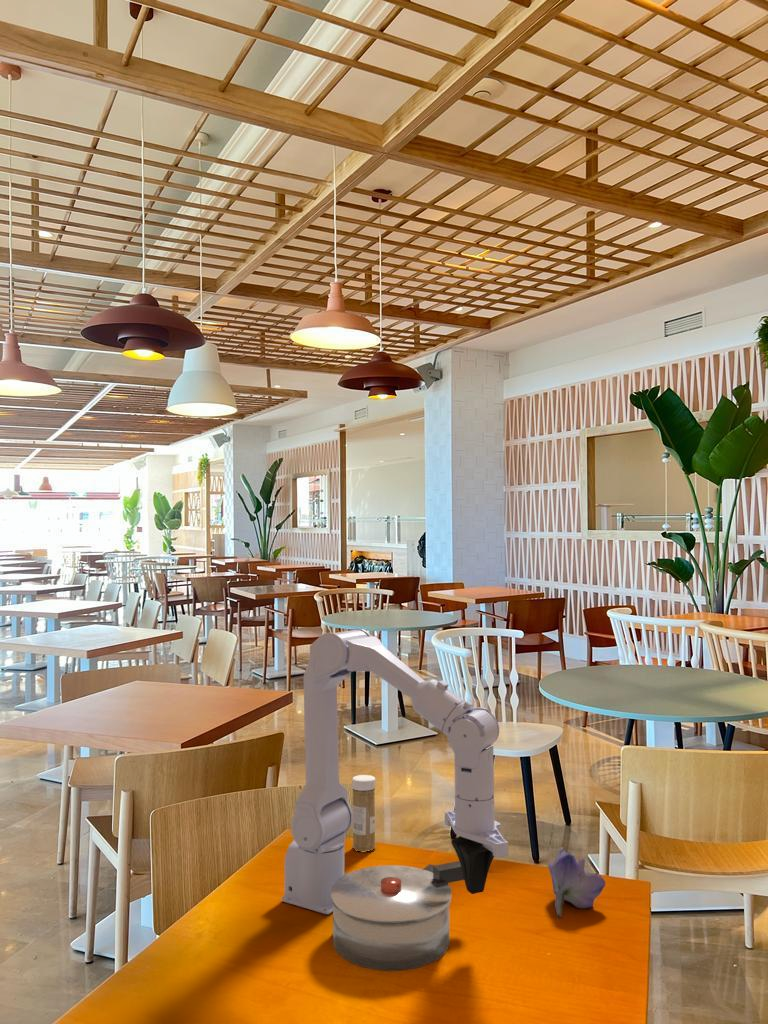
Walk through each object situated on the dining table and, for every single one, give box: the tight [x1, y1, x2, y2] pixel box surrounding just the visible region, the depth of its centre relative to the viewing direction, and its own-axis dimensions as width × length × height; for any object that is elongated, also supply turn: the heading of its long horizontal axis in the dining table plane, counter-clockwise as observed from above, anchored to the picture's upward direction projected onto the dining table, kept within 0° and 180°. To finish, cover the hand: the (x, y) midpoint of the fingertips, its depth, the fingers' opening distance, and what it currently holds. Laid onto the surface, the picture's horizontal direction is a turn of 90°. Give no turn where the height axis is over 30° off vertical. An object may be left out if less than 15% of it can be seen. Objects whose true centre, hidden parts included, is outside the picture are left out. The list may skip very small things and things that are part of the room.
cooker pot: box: [332, 863, 450, 972], centre depth 112 cm, size 23×17×6 cm
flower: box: [547, 846, 606, 919], centre depth 119 cm, size 9×9×10 cm
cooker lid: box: [331, 860, 465, 924], centre depth 111 cm, size 22×18×3 cm
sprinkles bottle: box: [351, 774, 377, 852], centre depth 144 cm, size 5×5×14 cm
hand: (475, 891), depth 108 cm, fingers closed
